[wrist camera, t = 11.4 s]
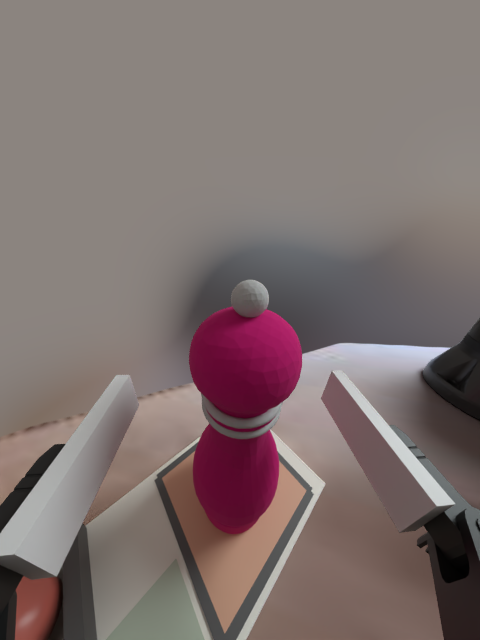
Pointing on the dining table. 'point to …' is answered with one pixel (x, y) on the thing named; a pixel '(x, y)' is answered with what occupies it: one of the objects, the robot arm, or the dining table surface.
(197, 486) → the pepper mill
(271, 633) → the dining table surface
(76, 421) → the dining table surface
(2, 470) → the dining table surface
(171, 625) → the picture board
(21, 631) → the button
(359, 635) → the dining table surface
